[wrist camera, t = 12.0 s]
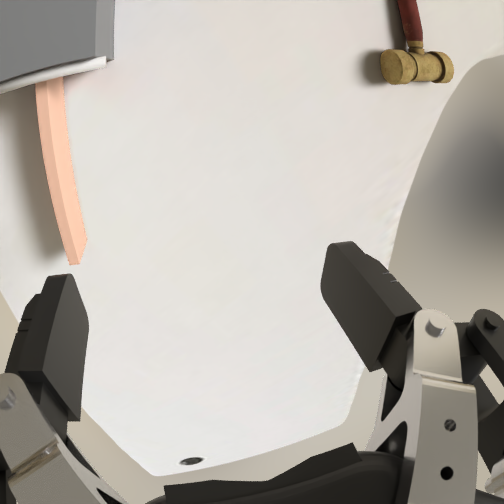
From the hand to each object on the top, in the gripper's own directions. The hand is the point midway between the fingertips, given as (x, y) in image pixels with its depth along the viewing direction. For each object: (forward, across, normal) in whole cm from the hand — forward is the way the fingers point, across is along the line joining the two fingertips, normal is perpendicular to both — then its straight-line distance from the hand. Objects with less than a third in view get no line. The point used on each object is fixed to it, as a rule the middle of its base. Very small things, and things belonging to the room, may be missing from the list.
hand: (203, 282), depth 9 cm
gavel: (+27, -28, -18) cm, 42 cm away
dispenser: (+26, +12, -16) cm, 33 cm away
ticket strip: (+26, +12, 0) cm, 28 cm away
